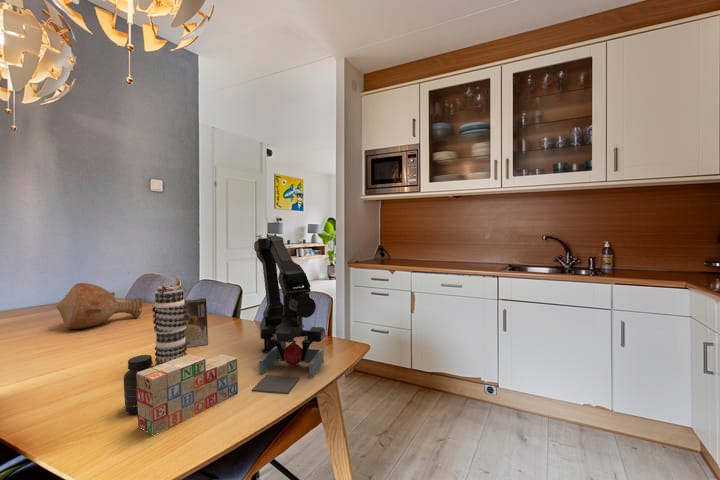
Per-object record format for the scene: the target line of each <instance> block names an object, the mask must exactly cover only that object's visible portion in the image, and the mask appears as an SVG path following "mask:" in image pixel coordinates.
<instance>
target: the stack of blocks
mask: <svg viewBox="0 0 720 480" xmlns="http://www.w3.org/2000/svg"><path fill="white" fill-rule="evenodd" d="M238 374H239V371H238V358H237V357H234V356H231V355H226V354H222V353H221V354H217V355H215V356H212V357H210V358H208V359H206V358H204V357H200V356H197V355H193V354H190V353H187V355H185V356H183V357H180V358H177V359H174V360H171V361H168V362H166V363H163V364H160V365H158V366H154V367H152V368H149V369H146V370H143V371H140V372H138V373H136V375H137V387H136V391H137V405H138V414H137V424H138V425H137V426H138V428H139V427H140V428H142V429H144V430H145V431H144V430H143V431H144V432H146V431H148V432H149V433H151V434H153V435H155V436H157V435H158V434H157V433H159V434H161V433H163V432H165V431H167V430H169V429H168V428H170V429H172V428H173V427H175V426H178V425H179V424H181V423H183V422H186V421H187V420H189V419H190V418H193V417H195V416H196V415H198V414H200V413H202V412H203V411H206V410H208V409H209V408H212V407H213V406H215V405H217V404H219V403H221V402H224V401H225V400H226V399H229V398H231V397H233V396H235V395H236V394H238V393H239V385H238V383H239V379H238V378H239V377H238V376H239V375H238ZM171 427H172V428H171ZM140 428H139V429H140ZM142 429H141V430H142ZM166 429H167V430H166ZM164 430H165V431H164ZM162 431H163V432H162ZM148 432H147V433H148ZM160 432H161V433H160ZM149 433H148V434H149ZM151 434H150V435H151ZM156 434H157V435H156ZM153 435H152V436H153Z"/></svg>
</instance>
